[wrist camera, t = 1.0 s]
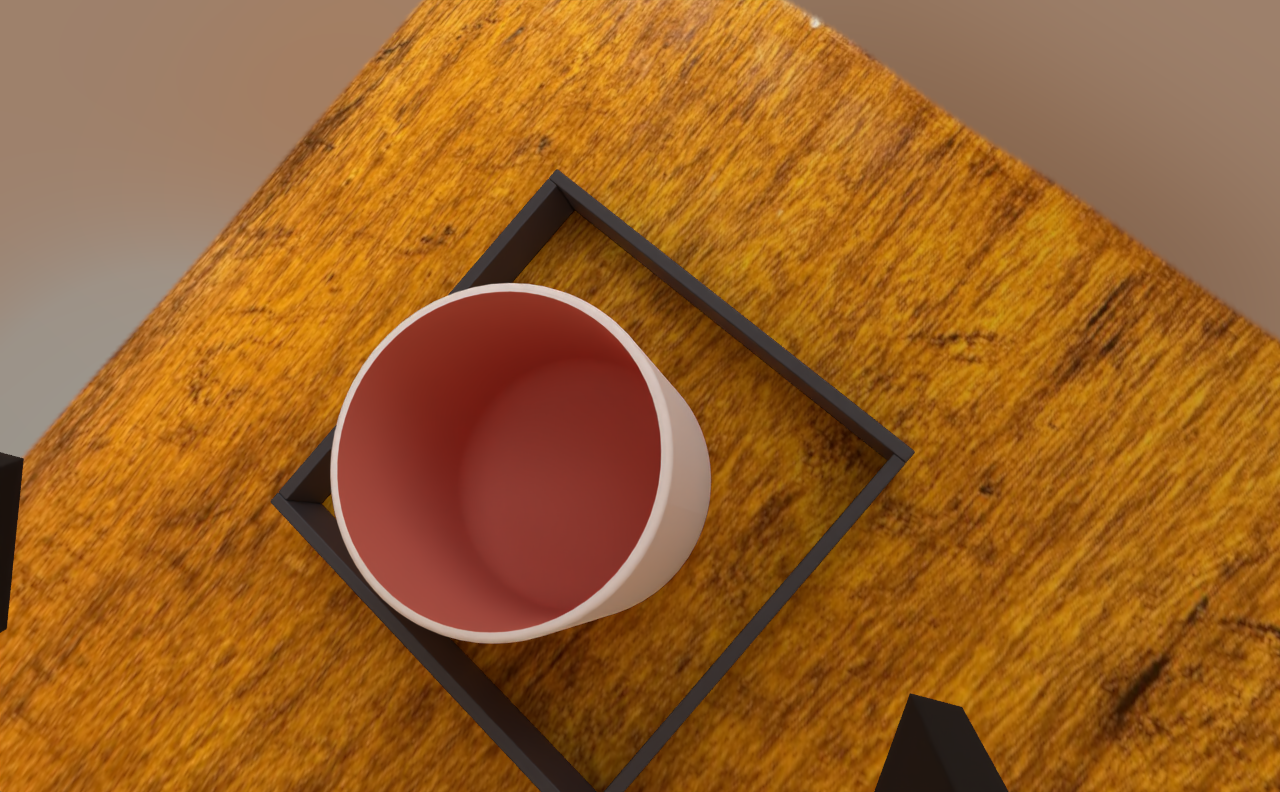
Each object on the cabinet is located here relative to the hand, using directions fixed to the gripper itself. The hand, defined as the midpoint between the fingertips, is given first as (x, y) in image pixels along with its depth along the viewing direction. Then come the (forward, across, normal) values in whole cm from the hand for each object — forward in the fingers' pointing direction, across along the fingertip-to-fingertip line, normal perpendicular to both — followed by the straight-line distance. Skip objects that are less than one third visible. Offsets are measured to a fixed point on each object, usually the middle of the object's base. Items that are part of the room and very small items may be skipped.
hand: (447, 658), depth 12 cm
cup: (+21, 0, -4) cm, 21 cm away
